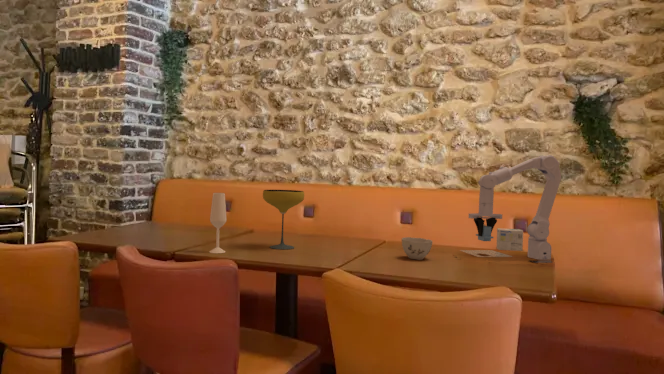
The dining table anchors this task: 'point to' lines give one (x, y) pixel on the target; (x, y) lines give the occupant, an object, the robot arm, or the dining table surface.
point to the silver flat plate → (488, 252)
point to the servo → (485, 234)
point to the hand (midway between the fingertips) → (484, 235)
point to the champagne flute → (218, 217)
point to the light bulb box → (510, 239)
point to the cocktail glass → (283, 206)
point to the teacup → (416, 247)
